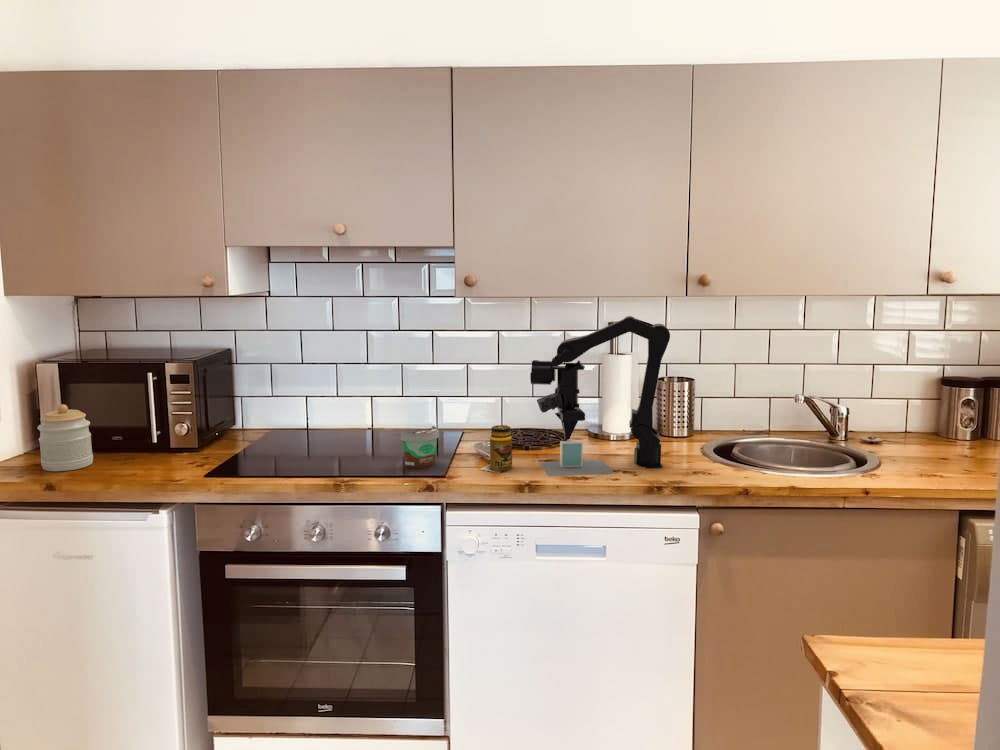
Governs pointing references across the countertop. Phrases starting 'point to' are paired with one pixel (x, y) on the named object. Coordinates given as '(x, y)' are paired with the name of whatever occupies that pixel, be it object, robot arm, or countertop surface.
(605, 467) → the mat
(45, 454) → the jar
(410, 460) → the food container
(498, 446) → the condiment
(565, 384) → the robot arm
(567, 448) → the tile
